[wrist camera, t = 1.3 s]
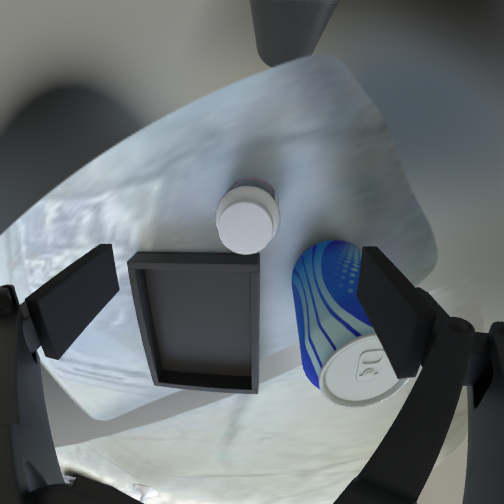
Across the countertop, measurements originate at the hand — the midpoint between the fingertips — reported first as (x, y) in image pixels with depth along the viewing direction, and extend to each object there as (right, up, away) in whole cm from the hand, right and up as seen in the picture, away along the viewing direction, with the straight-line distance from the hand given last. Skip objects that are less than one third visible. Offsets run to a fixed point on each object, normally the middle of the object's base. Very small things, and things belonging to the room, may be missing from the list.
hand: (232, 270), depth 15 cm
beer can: (+9, -1, +17) cm, 20 cm away
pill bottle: (+1, +6, +15) cm, 16 cm away
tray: (-5, -7, +20) cm, 22 cm away
